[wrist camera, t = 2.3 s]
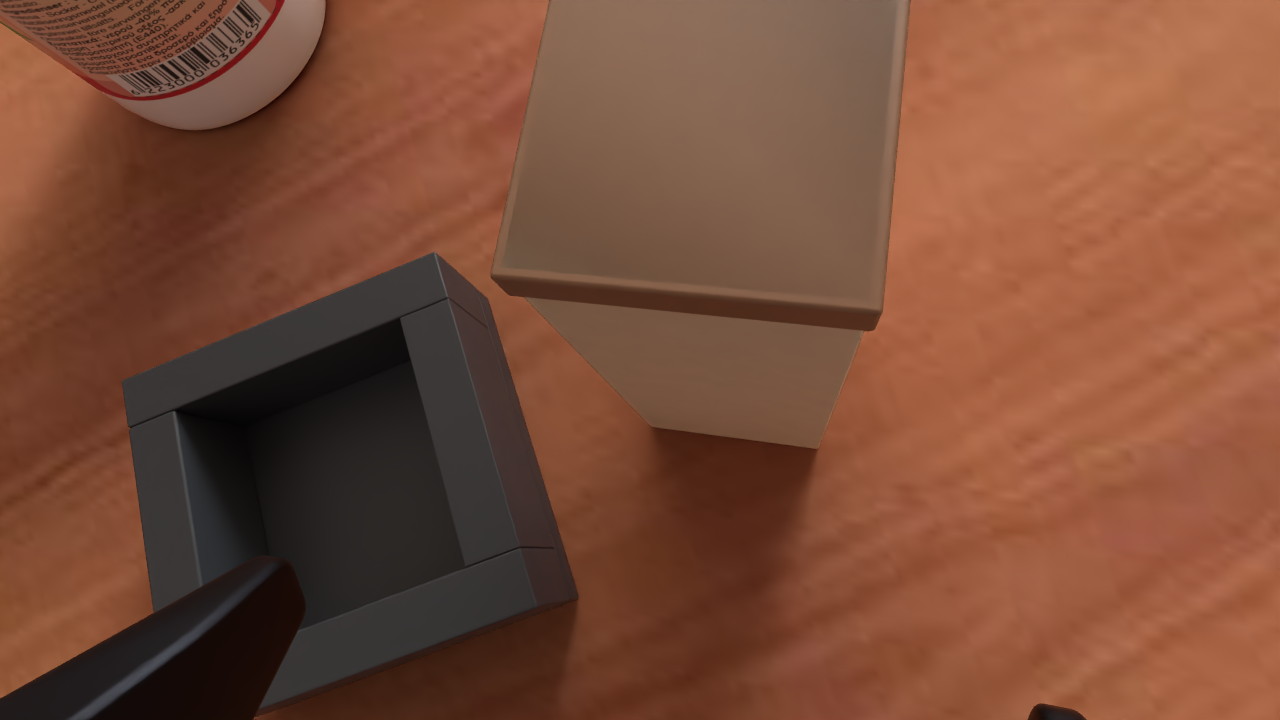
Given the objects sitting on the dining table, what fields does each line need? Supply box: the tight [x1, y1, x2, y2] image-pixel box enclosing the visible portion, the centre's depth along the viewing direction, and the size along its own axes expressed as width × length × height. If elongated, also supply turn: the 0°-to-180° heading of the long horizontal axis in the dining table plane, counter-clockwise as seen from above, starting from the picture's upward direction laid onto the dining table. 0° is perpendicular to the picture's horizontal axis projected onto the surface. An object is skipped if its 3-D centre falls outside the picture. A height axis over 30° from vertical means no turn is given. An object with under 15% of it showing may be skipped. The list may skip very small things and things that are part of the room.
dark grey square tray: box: [122, 252, 578, 717], centre depth 22 cm, size 10×10×4 cm
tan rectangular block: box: [491, 0, 911, 449], centre depth 16 cm, size 5×5×13 cm
